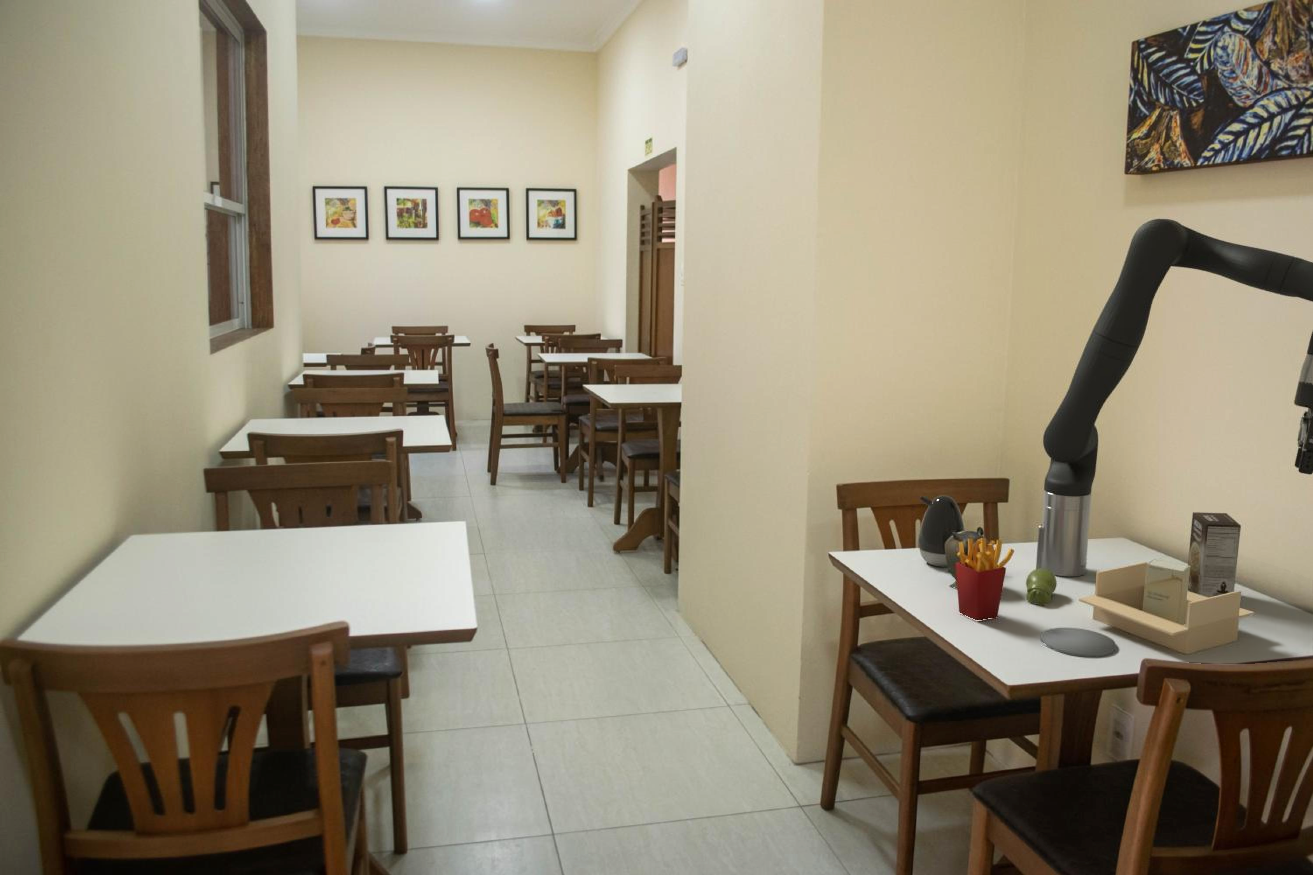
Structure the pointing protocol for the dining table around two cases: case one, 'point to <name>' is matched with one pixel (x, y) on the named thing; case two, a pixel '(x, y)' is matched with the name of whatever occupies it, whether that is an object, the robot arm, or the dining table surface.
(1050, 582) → the pear
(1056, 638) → the coaster
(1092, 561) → the dining table surface
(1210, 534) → the coffee box
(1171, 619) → the skincare box
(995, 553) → the french fries
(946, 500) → the dark grey rounded figure
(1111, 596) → the carton
